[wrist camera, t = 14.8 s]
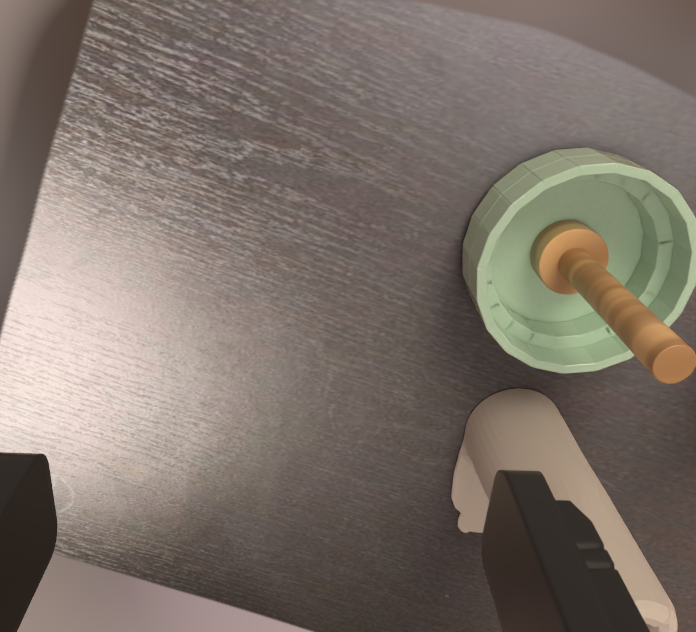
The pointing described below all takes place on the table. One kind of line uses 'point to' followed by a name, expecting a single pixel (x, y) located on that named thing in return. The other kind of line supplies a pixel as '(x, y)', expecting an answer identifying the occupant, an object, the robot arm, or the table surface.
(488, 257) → the bowl
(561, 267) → the pestle
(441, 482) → the table surface
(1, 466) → the robot arm
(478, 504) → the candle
